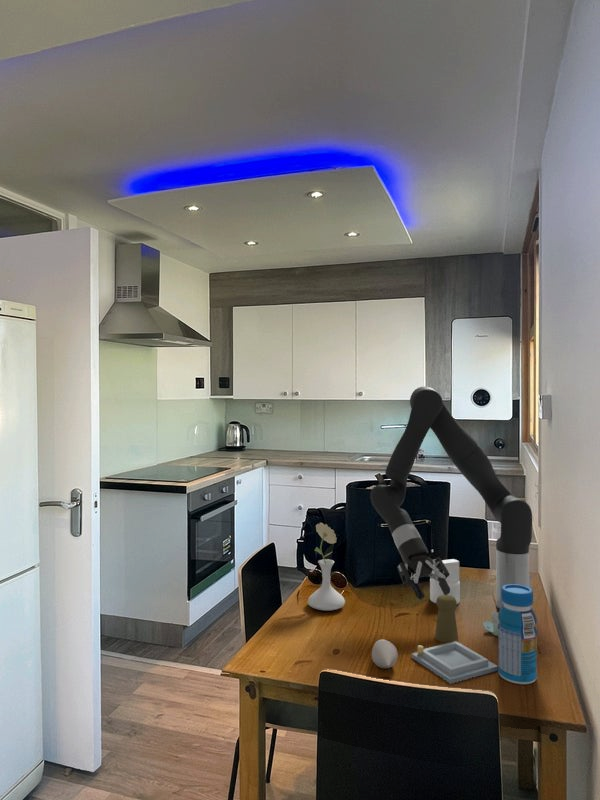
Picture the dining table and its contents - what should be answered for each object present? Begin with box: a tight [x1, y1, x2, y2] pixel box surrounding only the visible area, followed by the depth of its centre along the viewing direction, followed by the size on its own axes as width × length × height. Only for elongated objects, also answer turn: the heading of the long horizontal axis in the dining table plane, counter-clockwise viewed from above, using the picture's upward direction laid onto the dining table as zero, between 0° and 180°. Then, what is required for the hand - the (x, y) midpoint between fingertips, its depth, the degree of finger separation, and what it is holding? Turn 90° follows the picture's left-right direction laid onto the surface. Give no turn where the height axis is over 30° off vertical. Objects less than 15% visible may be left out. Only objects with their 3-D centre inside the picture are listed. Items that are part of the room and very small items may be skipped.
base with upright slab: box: [429, 558, 461, 604], centre depth 175 cm, size 9×9×12 cm
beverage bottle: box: [497, 584, 538, 685], centre depth 127 cm, size 8×8×20 cm
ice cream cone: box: [371, 639, 399, 669], centre depth 130 cm, size 6×6×15 cm
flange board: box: [411, 641, 498, 685], centre depth 133 cm, size 14×14×3 cm
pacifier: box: [483, 611, 500, 637], centre depth 150 cm, size 7×6×6 cm
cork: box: [434, 595, 459, 644], centre depth 147 cm, size 6×6×11 cm
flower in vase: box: [307, 522, 346, 612], centre depth 170 cm, size 13×11×25 cm
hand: (435, 596), depth 151 cm, fingers open, 8 cm apart
